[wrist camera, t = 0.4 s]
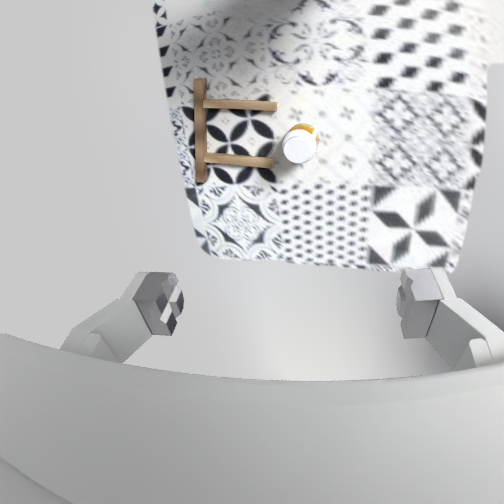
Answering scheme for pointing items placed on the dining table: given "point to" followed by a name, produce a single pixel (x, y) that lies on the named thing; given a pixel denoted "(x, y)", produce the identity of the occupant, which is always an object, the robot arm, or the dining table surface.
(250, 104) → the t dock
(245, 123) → the dining table surface
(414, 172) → the dining table surface
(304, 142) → the supplement bottle
